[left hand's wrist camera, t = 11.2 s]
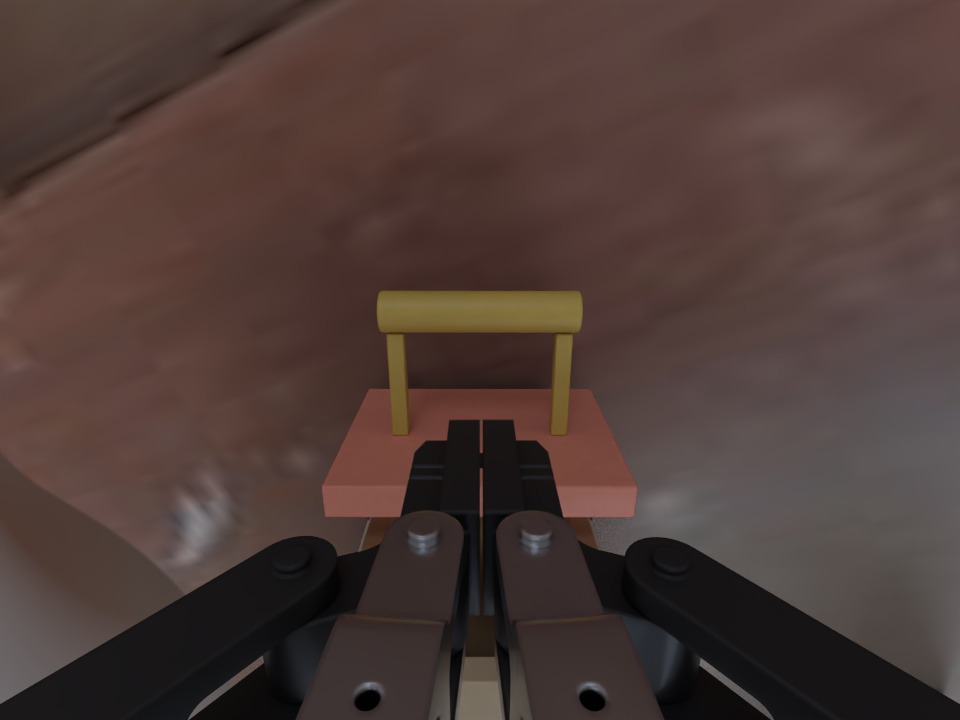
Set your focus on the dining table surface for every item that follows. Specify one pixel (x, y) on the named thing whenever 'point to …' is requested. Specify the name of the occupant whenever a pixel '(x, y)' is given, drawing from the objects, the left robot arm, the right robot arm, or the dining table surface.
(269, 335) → the dining table surface
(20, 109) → the dining table surface
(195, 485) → the dining table surface
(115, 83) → the dining table surface
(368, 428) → the drawer
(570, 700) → the left robot arm
